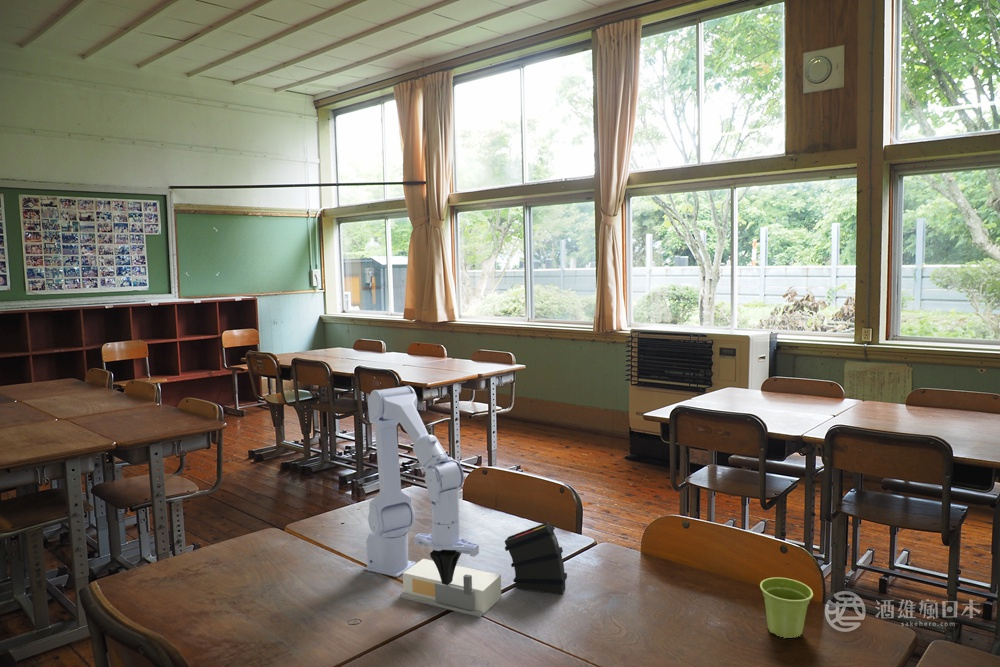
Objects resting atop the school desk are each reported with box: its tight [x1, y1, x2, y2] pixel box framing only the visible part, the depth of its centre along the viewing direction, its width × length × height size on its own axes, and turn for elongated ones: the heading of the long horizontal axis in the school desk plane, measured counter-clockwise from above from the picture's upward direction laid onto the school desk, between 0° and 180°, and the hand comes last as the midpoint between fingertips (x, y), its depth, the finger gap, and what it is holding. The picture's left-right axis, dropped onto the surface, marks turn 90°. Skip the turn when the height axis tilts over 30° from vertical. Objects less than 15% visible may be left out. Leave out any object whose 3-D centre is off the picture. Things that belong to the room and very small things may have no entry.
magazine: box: [504, 521, 568, 596], centre depth 151 cm, size 4×13×15 cm, turn 70°
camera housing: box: [399, 558, 502, 618], centre depth 148 cm, size 20×9×5 cm, turn 63°
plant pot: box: [759, 577, 814, 639], centre depth 132 cm, size 9×9×9 cm
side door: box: [435, 574, 474, 611], centre depth 143 cm, size 9×1×7 cm, turn 63°
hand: (447, 582), depth 143 cm, fingers closed
